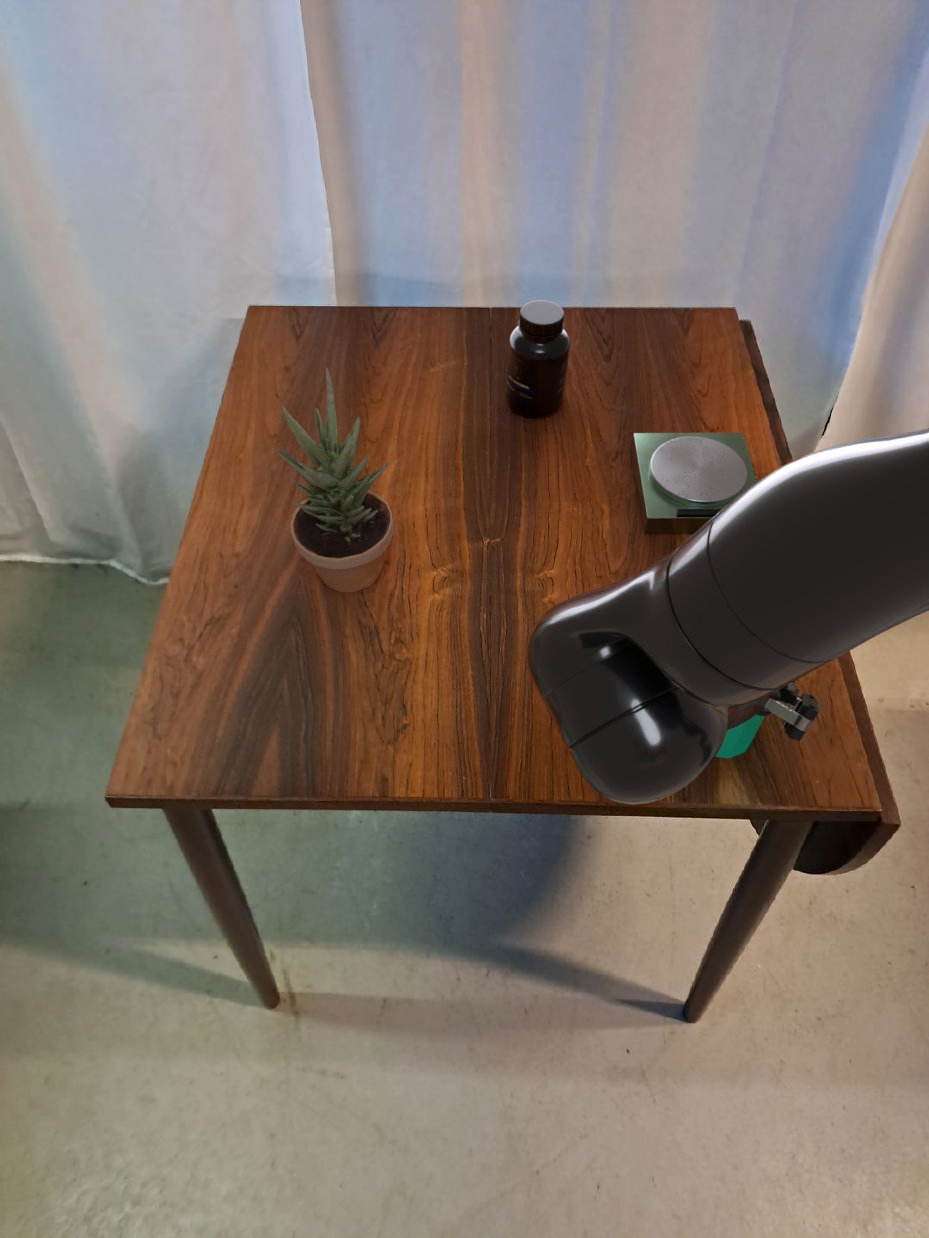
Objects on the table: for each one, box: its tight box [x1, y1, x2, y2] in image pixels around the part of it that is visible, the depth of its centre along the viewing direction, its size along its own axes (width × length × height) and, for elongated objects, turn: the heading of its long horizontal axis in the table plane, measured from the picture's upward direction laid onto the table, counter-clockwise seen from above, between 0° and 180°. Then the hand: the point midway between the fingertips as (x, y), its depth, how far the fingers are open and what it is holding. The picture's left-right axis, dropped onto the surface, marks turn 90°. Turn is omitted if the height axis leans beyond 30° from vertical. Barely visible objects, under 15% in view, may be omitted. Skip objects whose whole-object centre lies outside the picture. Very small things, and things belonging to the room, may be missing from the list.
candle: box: [714, 714, 765, 759], centre depth 73 cm, size 6×6×12 cm
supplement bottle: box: [505, 299, 571, 419], centre depth 100 cm, size 7×7×12 cm
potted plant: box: [277, 366, 395, 593], centre depth 79 cm, size 10×10×25 cm
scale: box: [630, 432, 757, 535], centre depth 94 cm, size 13×12×3 cm
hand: (749, 668), depth 73 cm, fingers closed on candle, 6 cm apart
